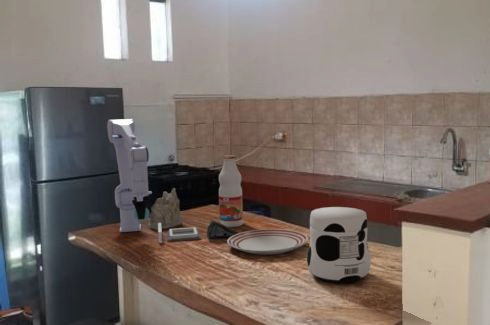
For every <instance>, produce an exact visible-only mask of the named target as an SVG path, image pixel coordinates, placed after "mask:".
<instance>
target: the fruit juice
mask: <svg viewBox="0 0 490 325" xmlns="http://www.w3.org/2000/svg"><path fill="white" fill-rule="evenodd" d="M222 158H223V164H222V167H221V171H220V172H219V174H218V183H219V188H218V207H219V208H218V210H219V211H218V212H219V223H221V224H223V225H225V226H227V227H229V228H235V227H236V228H237V227H240V226H242V225H243V224H244V210H243V209H244V207H243V206H244V204H243V202H244V201H243V188H242V186H241V183H242V174H241V173H240V171H239V168H238V166H237V164H236V160H237V159H236V158H237V156H236V155H234V154H227V155H226V154H225V155H223V156H222Z"/></svg>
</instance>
